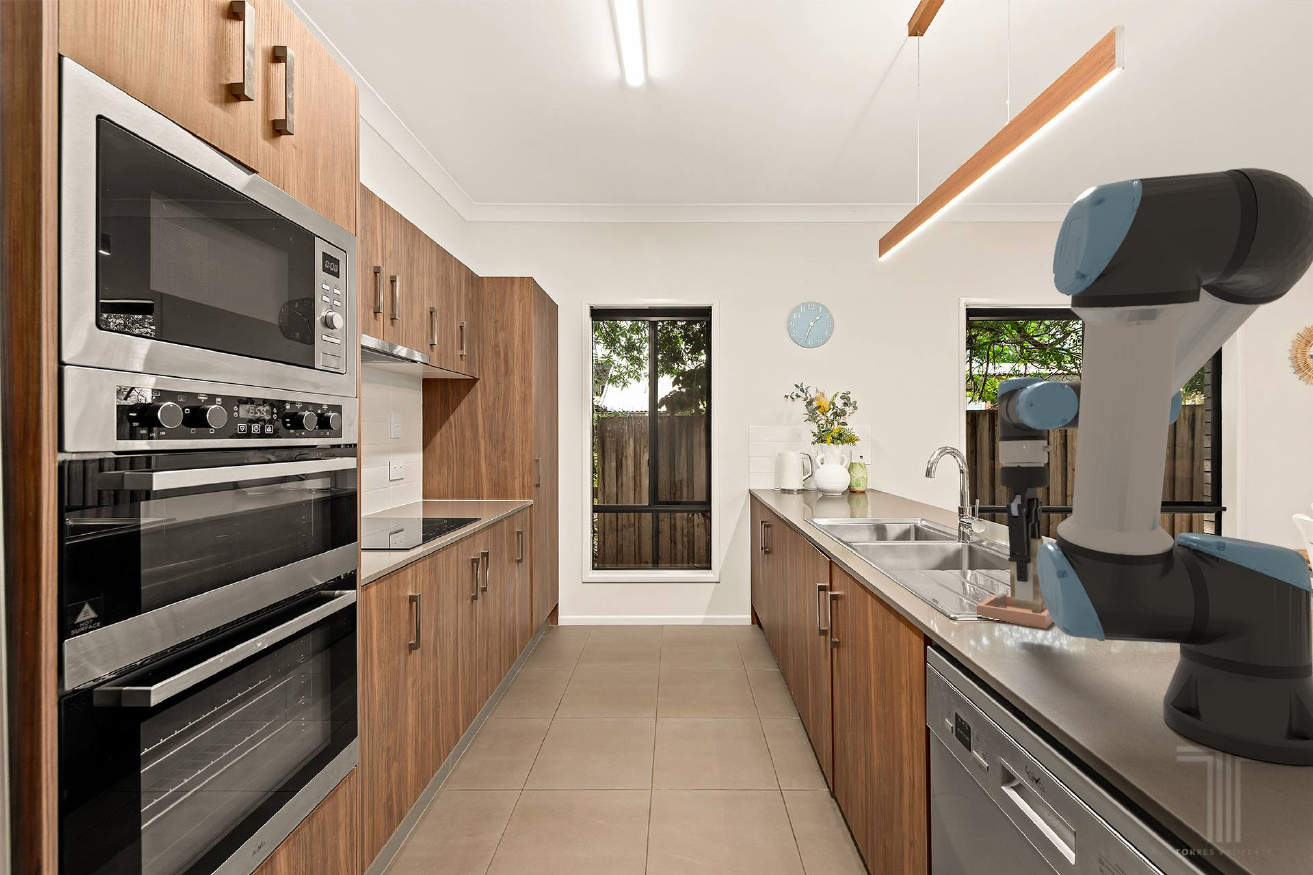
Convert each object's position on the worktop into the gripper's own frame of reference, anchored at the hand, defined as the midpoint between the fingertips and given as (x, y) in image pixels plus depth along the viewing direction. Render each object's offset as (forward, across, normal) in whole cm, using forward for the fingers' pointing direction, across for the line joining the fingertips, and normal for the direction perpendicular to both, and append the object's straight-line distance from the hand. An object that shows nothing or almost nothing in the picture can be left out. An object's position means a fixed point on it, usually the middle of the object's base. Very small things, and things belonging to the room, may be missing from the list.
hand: (1027, 597), depth 112 cm
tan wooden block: (+2, 0, 0) cm, 2 cm away
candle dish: (+7, +15, +5) cm, 17 cm away
